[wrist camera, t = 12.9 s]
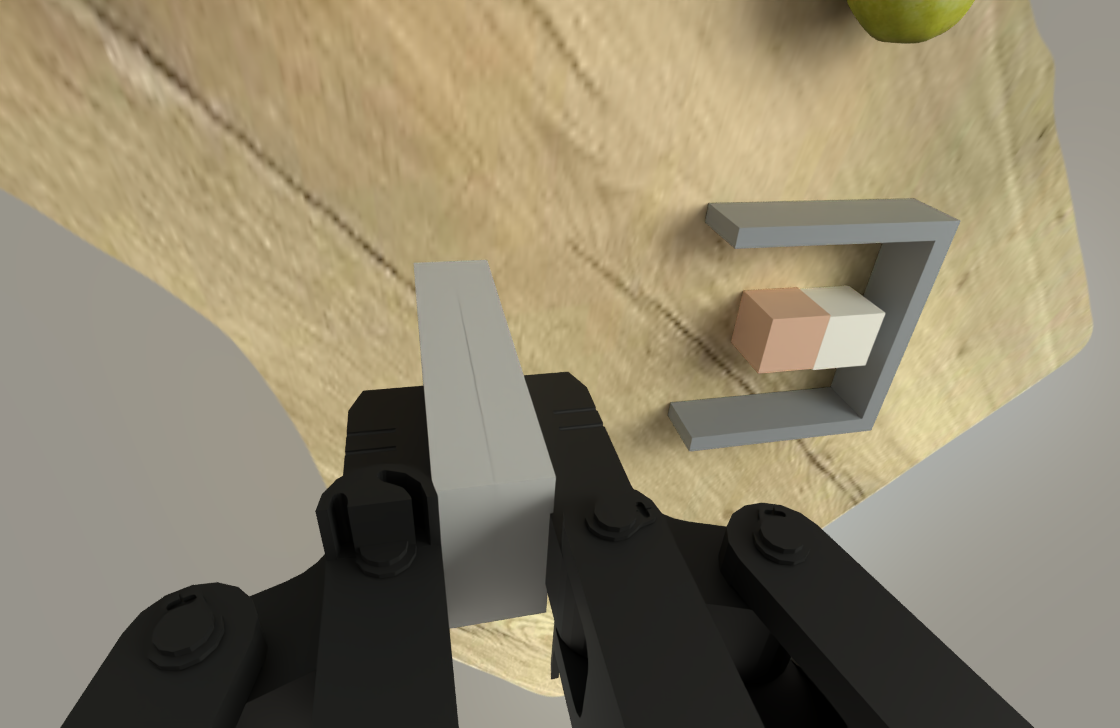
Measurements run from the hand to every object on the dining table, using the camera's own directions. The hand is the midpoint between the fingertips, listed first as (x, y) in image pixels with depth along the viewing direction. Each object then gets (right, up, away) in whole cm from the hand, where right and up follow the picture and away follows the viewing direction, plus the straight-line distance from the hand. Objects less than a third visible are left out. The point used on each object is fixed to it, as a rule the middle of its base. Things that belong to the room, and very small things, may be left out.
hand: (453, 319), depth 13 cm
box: (+22, +3, +40) cm, 46 cm away
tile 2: (+25, +4, +41) cm, 48 cm away
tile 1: (+20, +3, +40) cm, 45 cm away
